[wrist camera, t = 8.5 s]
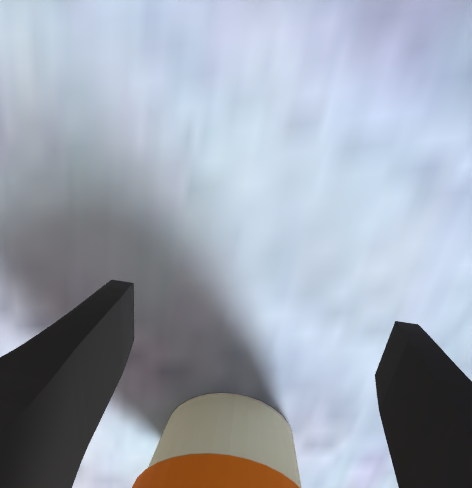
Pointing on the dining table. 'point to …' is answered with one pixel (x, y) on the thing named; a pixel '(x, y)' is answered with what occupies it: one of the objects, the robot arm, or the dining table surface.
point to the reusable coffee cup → (223, 446)
